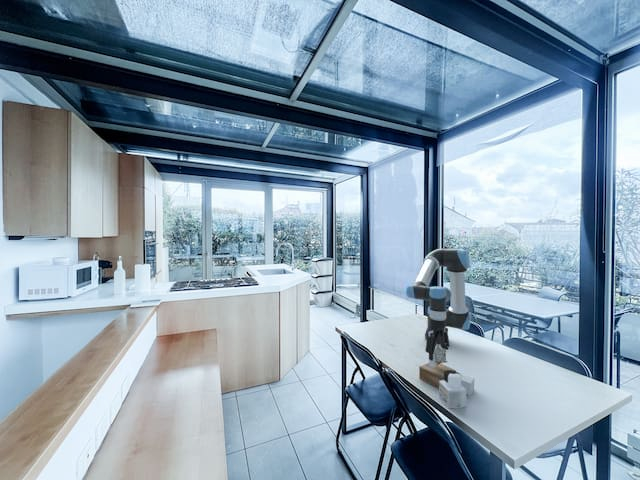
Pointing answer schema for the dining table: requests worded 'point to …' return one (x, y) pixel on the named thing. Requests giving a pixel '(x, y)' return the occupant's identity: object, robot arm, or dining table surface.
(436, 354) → the grey spiky ball
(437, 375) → the base block
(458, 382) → the container
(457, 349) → the dining table surface
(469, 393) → the grey block
